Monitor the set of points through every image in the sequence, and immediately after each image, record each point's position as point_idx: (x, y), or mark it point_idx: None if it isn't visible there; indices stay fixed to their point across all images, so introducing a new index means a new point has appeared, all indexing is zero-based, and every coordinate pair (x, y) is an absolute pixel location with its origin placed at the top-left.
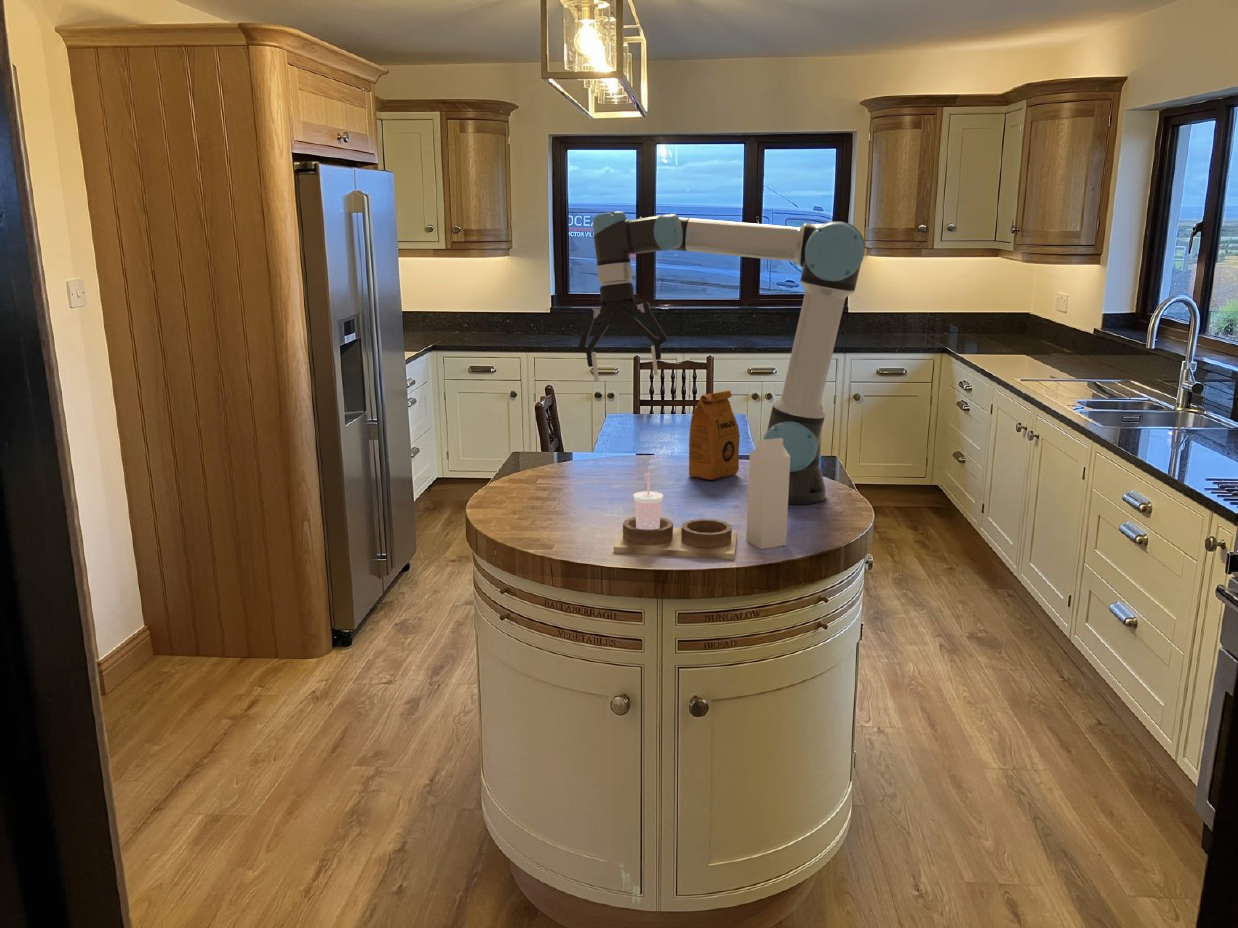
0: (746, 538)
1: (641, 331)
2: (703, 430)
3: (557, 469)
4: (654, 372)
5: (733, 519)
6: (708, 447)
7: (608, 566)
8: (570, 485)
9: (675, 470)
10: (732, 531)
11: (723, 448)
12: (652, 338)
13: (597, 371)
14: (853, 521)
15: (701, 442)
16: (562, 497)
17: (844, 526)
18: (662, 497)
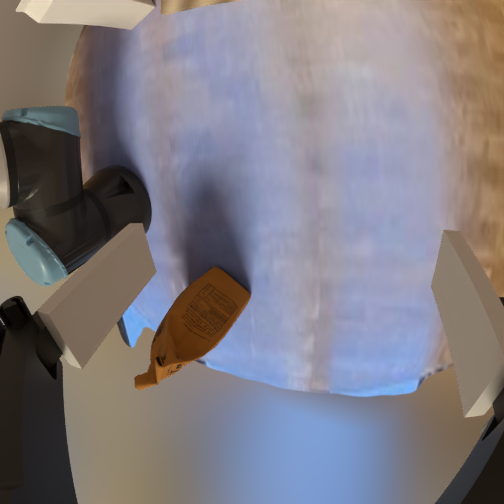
0: (153, 5)
1: (17, 419)
2: (194, 326)
3: None
4: (132, 230)
5: (171, 83)
6: (197, 299)
7: None
8: None
9: (273, 326)
10: (166, 11)
11: (178, 296)
12: (12, 350)
13: (448, 300)
14: None
15: (206, 313)
16: (457, 179)
17: (75, 98)
18: None
